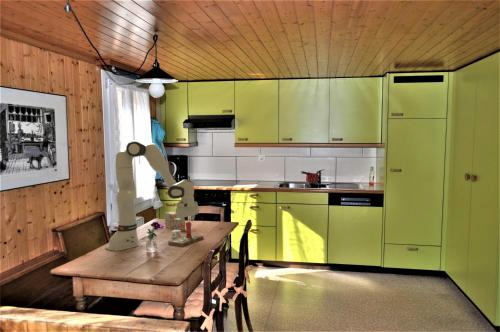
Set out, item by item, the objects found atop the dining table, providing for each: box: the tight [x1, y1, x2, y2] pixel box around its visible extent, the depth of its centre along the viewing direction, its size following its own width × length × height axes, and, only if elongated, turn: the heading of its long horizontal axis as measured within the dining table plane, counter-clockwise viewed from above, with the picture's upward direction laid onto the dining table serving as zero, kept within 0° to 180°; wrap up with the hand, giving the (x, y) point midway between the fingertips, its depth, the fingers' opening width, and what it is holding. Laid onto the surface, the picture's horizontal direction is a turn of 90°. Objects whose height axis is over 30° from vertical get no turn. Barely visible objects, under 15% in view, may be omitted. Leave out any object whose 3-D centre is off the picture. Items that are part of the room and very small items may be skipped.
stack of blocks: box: [164, 211, 186, 232], centre depth 311 cm, size 21×6×12 cm, turn 40°
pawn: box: [185, 221, 192, 238], centre depth 274 cm, size 4×4×11 cm
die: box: [170, 229, 182, 239], centre depth 284 cm, size 5×5×5 cm
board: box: [167, 233, 204, 247], centre depth 273 cm, size 23×12×2 cm, turn 148°
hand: (187, 222), depth 274 cm, fingers open, 8 cm apart
